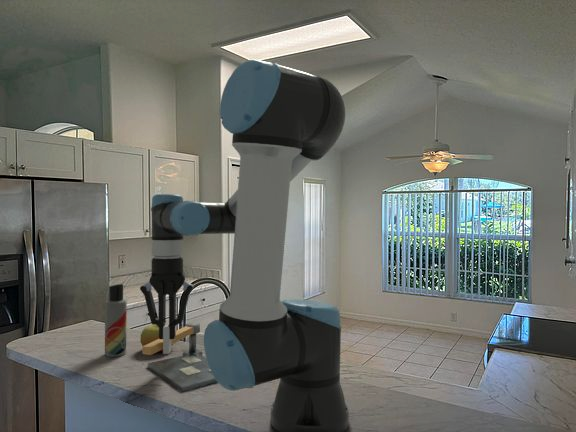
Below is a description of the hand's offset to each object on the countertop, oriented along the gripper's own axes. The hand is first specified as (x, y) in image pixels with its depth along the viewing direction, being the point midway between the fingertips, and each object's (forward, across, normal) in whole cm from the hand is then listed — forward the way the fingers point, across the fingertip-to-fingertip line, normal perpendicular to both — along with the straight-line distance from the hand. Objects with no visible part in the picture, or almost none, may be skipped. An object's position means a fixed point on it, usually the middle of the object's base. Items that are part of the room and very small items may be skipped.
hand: (167, 351), depth 104 cm
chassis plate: (+6, -5, -2) cm, 8 cm away
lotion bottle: (+6, +18, -17) cm, 26 cm away
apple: (+6, +7, -21) cm, 23 cm away
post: (+6, -4, -16) cm, 18 cm away
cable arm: (0, 0, -7) cm, 7 cm away
